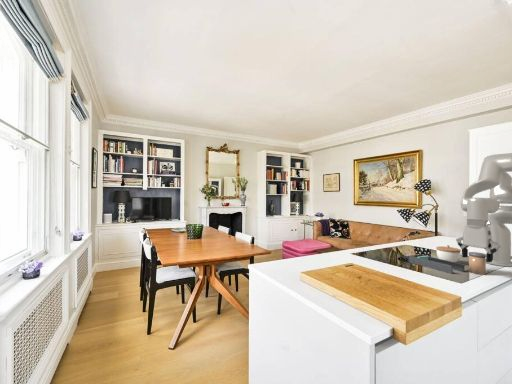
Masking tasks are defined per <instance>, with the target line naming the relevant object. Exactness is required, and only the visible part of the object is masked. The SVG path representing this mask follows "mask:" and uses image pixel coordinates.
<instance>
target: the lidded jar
mask: <svg viewBox="0 0 512 384" xmlns="http://www.w3.org/2000/svg"><path fill="white" fill-rule="evenodd" d="M435 250H436V256H437V258H438V259H443V260H447V261H451V262H456V263H458V262H459V261H460V258H461V253H462V249H461V248H458V247H454V246H453V247H452V246H450V245H446V246H436V249H435Z"/></svg>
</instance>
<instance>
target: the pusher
mask: <svg viewBox="0 0 512 384" xmlns="http://www.w3.org/2000/svg"><path fill="white" fill-rule="evenodd" d="M417 258H421V259H425V260H429V255H425V256H420V257H417Z"/></svg>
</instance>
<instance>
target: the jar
mask: <svg viewBox="0 0 512 384" xmlns="http://www.w3.org/2000/svg"><path fill="white" fill-rule="evenodd" d="M486 254H487V253H484V252H476V251H468V272H469V273H471V274H474V275H483V276H484V275H486V274H487V271H486V270H487V269H486V267H487V266H486V264H487V263H486Z"/></svg>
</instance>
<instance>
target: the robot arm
mask: <svg viewBox="0 0 512 384" xmlns="http://www.w3.org/2000/svg"><path fill="white" fill-rule="evenodd" d="M479 171H480V172H479V175H478V179H477V180H475V182H473V183H471V184H470V185H469V186H467V188H466V189H464V191H463V194H462V197H461V200H460V201H461V202H460V208H461V210H462V211H463V212H464V213H465V212H466V225H464V228H463V229H464V230H463V234H462V235H463V236H462V237H458V238H456V239H455V241H456V243H457V245H458V247H460V248H459V249H460V250H461V256H462V258H469V250H468V248H469V247H471V248H477V249H478V248H479V249H484V250H485V251H486V253H485V254H486V264H489V265H492V266H500V267H508V268H509V267H512V232H511V230H510V228H509V227H508V226H507V224H508V225H512V176H511V175H510V173H508V172H512V152H509V153H507V152H506V153H496V154H491V155H487V156H486V157H484V158H483V162H482V163H481V167H480V170H479ZM487 190H489V197H474V196H475V195H477V194H480V193H482V192H486V191H487ZM500 204H501V205H500ZM504 204H506V205H504ZM507 204H508V205H507Z"/></svg>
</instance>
